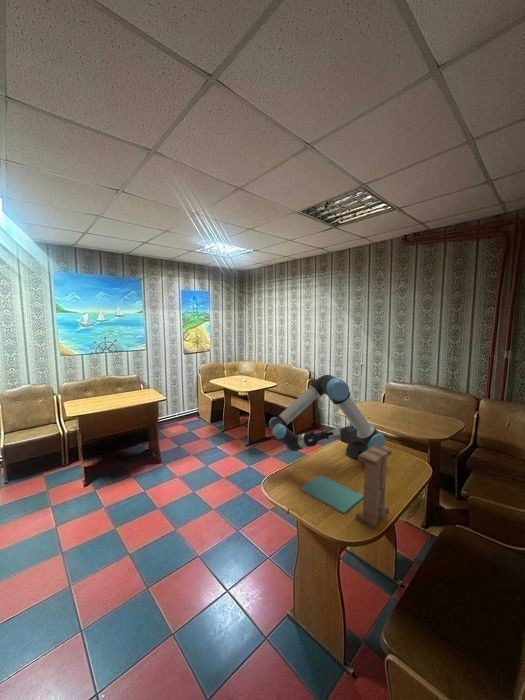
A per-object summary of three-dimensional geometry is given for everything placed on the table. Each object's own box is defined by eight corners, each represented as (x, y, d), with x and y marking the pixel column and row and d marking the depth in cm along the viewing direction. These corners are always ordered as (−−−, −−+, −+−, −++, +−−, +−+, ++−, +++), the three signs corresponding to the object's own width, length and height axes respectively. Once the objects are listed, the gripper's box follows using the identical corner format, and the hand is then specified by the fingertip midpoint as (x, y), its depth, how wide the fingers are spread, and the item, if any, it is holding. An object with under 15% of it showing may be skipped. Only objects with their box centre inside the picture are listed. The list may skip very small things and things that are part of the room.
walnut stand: (372, 503, 139) (375, 444, 135) (388, 511, 133) (391, 450, 130) (355, 519, 128) (358, 455, 125) (371, 528, 122) (374, 461, 119)
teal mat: (321, 476, 162) (321, 475, 162) (363, 497, 143) (364, 496, 143) (300, 489, 150) (300, 487, 150) (344, 514, 131) (344, 512, 131)
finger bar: (329, 431, 148) (330, 420, 147) (356, 441, 137) (357, 429, 136) (322, 434, 144) (323, 423, 143) (349, 444, 133) (350, 432, 132)
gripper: (320, 442, 160) (353, 433, 144) (300, 451, 149) (334, 442, 133) (315, 429, 162) (347, 418, 146) (295, 437, 151) (327, 427, 135)
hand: (341, 430), depth 139 cm, fingers closed on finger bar, 4 cm apart
